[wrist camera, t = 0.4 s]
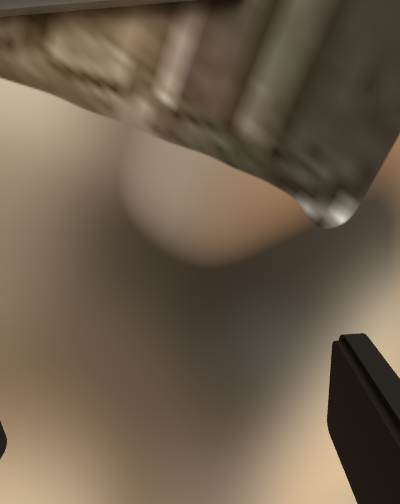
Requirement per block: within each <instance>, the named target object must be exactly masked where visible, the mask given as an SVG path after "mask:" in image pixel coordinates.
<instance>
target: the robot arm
mask: <svg viewBox="0 0 400 504" xmlns="http://www.w3.org/2000/svg"><path fill="white" fill-rule="evenodd" d="M327 424H328V430H329V434H330V436H331V439H332V441H333V444H334V446H335V449H336V451H337V454H338V456H339V459H340V461H341V464H342V466H343V469H344V471H345V474H346V476H347V479H348V481H349V484H350V486H351V489H352V491H353V493H354V496H355V498H356V501H357V503H358V504H400V379H399V377H398V376H397V375H396V373H395V372H394V371H393V369H392V368H391V367H390V366H389V364H388V363H387V361H386V360H385V359H384V357H383V356H382V355H381V353H380V352H379V351H378V349H377V348H376V347H375V346H374V344H373V343H372V342H371V340H370V339H369V338H368V336H367V335H366V334H363V333H361V334H346V335H341V336H340V338H339V341H334V342H333V344H332V355H331V370H330V385H329V400H328V414H327ZM6 444H7V438H6V435H5V432H4V430H3V427H2V425H1V422H0V459H1V457H2V455H3V453H4V451H5V449H6Z"/></svg>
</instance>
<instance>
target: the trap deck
mask: <svg viewBox="0 0 400 504" xmlns="http://www.w3.org/2000/svg"><path fill="white" fill-rule="evenodd" d="M183 1H195V0H0V17H8V16H19V15H31V14H43V13H54V12H66V11H78V10H89V9H101V8H113V7H125V6H136V5H148V4H160V3H171V2H183Z"/></svg>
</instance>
